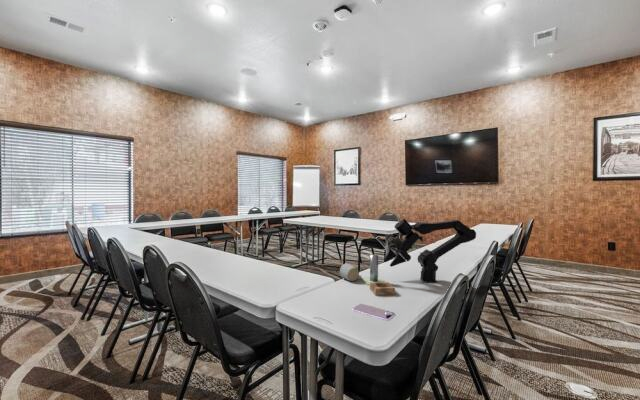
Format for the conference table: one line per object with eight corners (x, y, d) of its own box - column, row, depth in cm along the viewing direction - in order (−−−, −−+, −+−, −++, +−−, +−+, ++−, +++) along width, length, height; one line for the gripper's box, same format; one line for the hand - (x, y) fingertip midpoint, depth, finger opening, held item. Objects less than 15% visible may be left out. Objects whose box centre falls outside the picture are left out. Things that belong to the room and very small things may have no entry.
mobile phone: (360, 302, 117) (396, 312, 108) (360, 305, 117) (396, 314, 108) (350, 308, 111) (387, 319, 102) (350, 311, 111) (387, 322, 102)
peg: (378, 279, 148) (378, 254, 148) (377, 282, 145) (377, 256, 144) (370, 279, 150) (370, 254, 149) (369, 281, 146) (369, 255, 146)
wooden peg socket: (387, 288, 137) (387, 281, 137) (394, 294, 128) (394, 288, 128) (369, 288, 136) (369, 282, 136) (375, 295, 127) (375, 288, 127)
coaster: (379, 278, 153) (379, 277, 153) (386, 284, 143) (386, 283, 143) (361, 278, 152) (361, 277, 151) (366, 284, 142) (367, 283, 142)
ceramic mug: (348, 282, 144) (348, 267, 144) (339, 278, 151) (339, 263, 151) (365, 280, 149) (365, 265, 149) (355, 276, 156) (356, 262, 156)
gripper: (391, 228, 157) (371, 249, 156) (404, 233, 138) (382, 257, 138) (405, 242, 158) (385, 263, 157) (420, 249, 139) (398, 272, 139)
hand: (387, 263), depth 148 cm, fingers open, 9 cm apart
